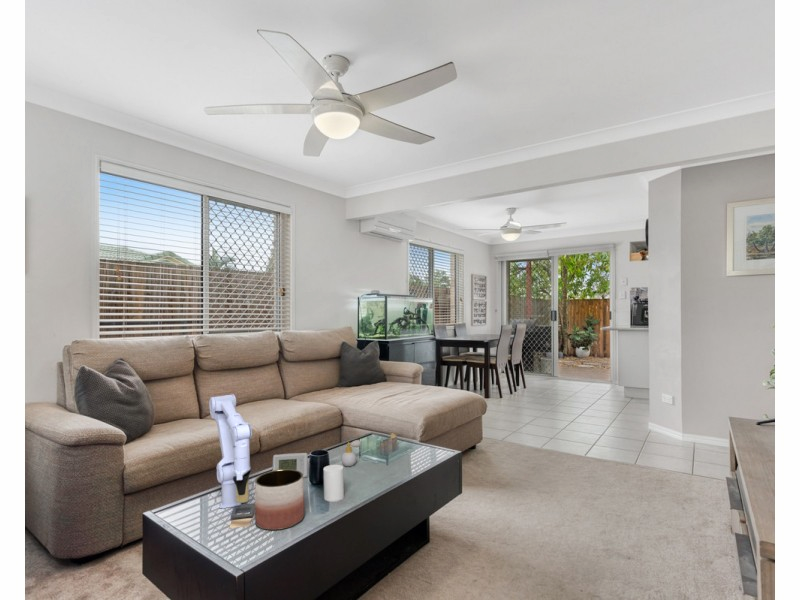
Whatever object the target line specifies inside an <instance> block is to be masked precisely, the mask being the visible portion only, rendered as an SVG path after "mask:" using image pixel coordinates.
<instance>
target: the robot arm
mask: <svg viewBox="0 0 800 600" xmlns="http://www.w3.org/2000/svg"><path fill="white" fill-rule="evenodd" d="M208 402H209V403H208V408H209V414H210V417H211V419H213V420H215V423H216V426H217V432H218V439H219V446H220V450H221V460H219V462H217V464H216V478H217V481H218V483H220V484H221V502H220V504H219V509H225V508H226V509H227V508H234V506H236V505H242V503H243V502H241V503H237V501H236V487H237V491H238V495H244V494H245V490H246V483H247V480H248V479H249V477H250V473H251V472H252V469H251V462H250V461H251V459H250V457H251V456H250V455H251V454H250V453H251V451H250V450H251V449H250V439H251V438H252V434H253V432H252V431H253V430H252V426H251V423H248V422H245V420H244V418H243V415H242V414H241V413H240V412H237V410H236V406H237V398H236V395H235V394H234V393H231V394H226V395H225V394H224V395H218V396H210V398H209V401H208Z"/></svg>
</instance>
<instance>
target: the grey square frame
mask: <svg viewBox="0 0 800 600" xmlns="http://www.w3.org/2000/svg"><path fill="white" fill-rule="evenodd" d="M230 514H231V515H230V522H231V521H232V520H239V519H247V518H251V519H254V518H255V502H254V503H248V504H247V503H246V504H241V505H236V506H234V507H232V511H231V513H230Z"/></svg>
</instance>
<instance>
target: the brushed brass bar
mask: <svg viewBox="0 0 800 600" xmlns="http://www.w3.org/2000/svg"><path fill="white" fill-rule="evenodd" d="M249 483H250V482H249V478H248V480H247V483H246V490H245V494H244V495H238V491H237V487H236V501H237V503H241V502H242V503H247V502H248V501H249V498H250V493H249V492H250V485H249ZM242 503H241V504H242Z"/></svg>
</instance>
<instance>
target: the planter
mask: <svg viewBox="0 0 800 600" xmlns="http://www.w3.org/2000/svg"><path fill="white" fill-rule="evenodd" d="M304 484H305V483H304V478H303V473H302V472H300V471H297V470H292V469H282V470H274V471H272V470H271V471H268V472H264V473H262V474H260V475H258V476H257V477H256V478H255V479H254V503H255V512H254V520H255V521H254V522H255V525H257V527H259V528H261V529H263V530H266V531H267V530H268V531H269V530H270V531H278V530H284V529H288V528H291V527H293V526H296V525H298V523H300V522H301V521H302V520H303V519H304V518H305V509H306V508H305V488H304V487H305V486H304Z"/></svg>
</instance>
